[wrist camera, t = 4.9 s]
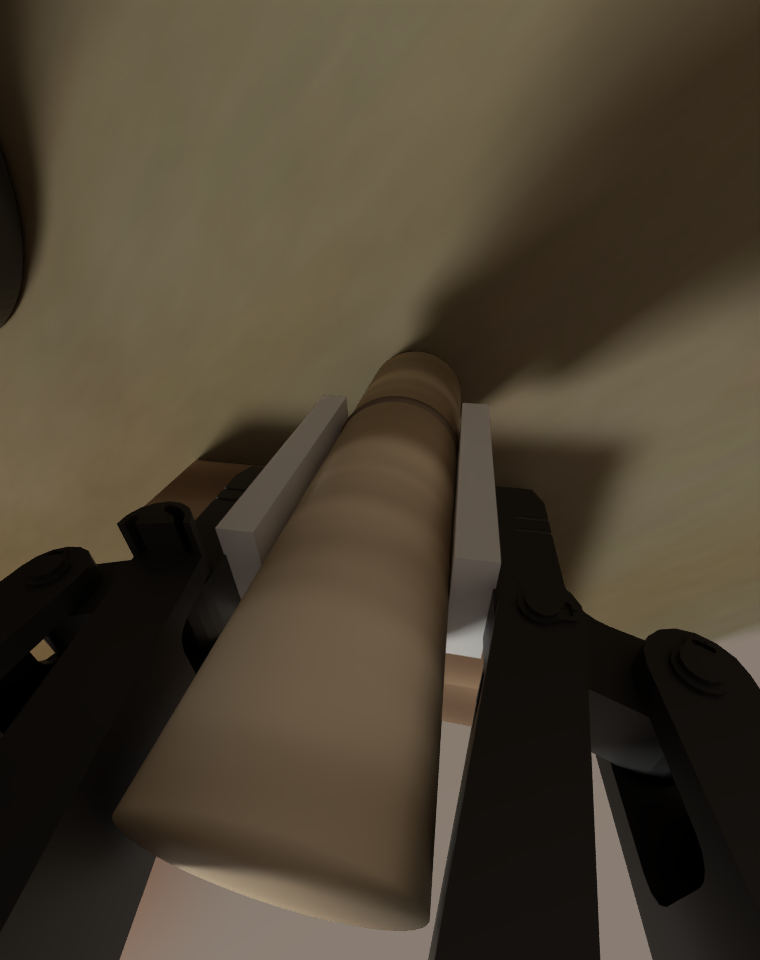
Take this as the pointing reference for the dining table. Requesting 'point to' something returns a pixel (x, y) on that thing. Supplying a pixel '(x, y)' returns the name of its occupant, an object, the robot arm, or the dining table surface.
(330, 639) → the dowel
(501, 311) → the dining table surface
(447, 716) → the board
